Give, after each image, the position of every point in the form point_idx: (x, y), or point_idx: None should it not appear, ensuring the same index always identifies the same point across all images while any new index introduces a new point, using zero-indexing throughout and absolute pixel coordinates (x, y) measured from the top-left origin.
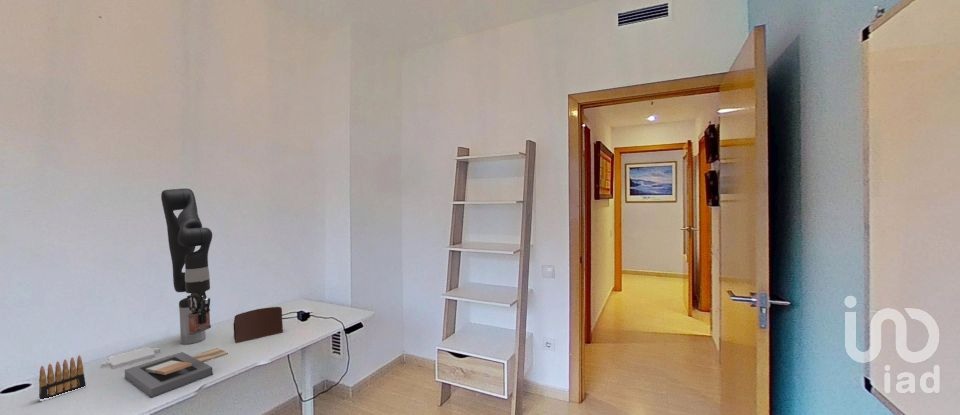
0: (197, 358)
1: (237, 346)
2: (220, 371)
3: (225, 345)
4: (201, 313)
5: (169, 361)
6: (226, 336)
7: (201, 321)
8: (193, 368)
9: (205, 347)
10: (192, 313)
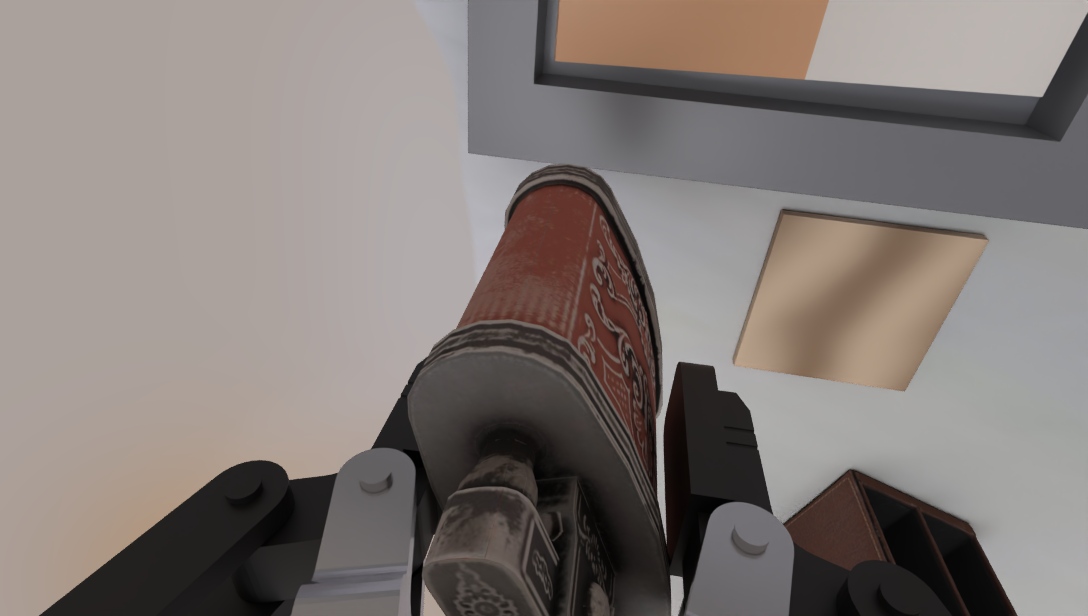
0: (875, 239)
1: (784, 441)
2: (490, 186)
3: (896, 433)
4: (240, 470)
5: (1030, 71)
6: (1048, 521)
7: (416, 367)
8: (625, 90)
9: (1042, 380)
10: (508, 440)
